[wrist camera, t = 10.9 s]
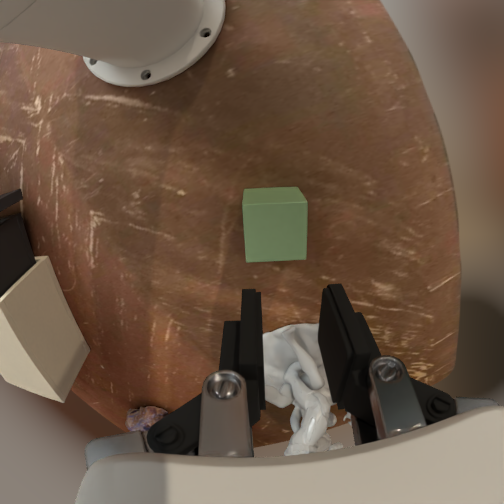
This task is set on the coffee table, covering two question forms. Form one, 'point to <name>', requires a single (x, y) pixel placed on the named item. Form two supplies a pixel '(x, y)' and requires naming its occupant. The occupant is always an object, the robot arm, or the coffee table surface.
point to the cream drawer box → (40, 335)
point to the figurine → (300, 386)
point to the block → (274, 224)
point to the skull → (144, 417)
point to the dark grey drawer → (13, 244)
